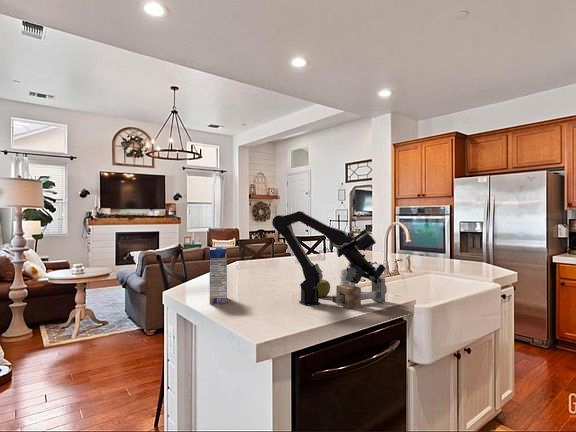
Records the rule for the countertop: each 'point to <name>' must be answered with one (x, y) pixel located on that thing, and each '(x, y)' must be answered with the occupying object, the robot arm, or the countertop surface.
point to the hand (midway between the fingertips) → (376, 282)
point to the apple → (323, 288)
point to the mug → (343, 278)
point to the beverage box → (218, 275)
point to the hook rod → (368, 293)
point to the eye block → (349, 295)
